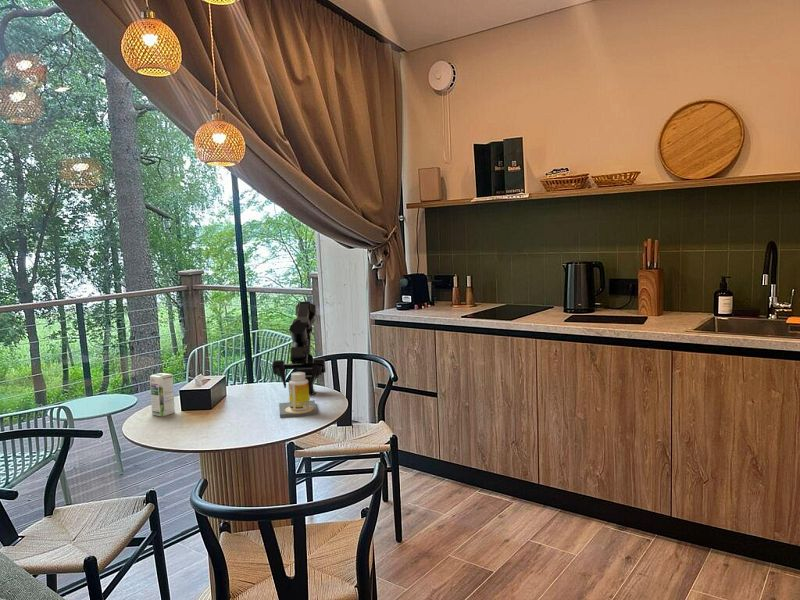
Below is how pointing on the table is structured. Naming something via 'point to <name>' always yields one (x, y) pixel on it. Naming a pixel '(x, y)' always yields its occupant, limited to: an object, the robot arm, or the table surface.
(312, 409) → the plate
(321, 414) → the table surface
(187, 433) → the table surface
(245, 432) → the table surface
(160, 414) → the syrup box
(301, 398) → the supplement bottle
